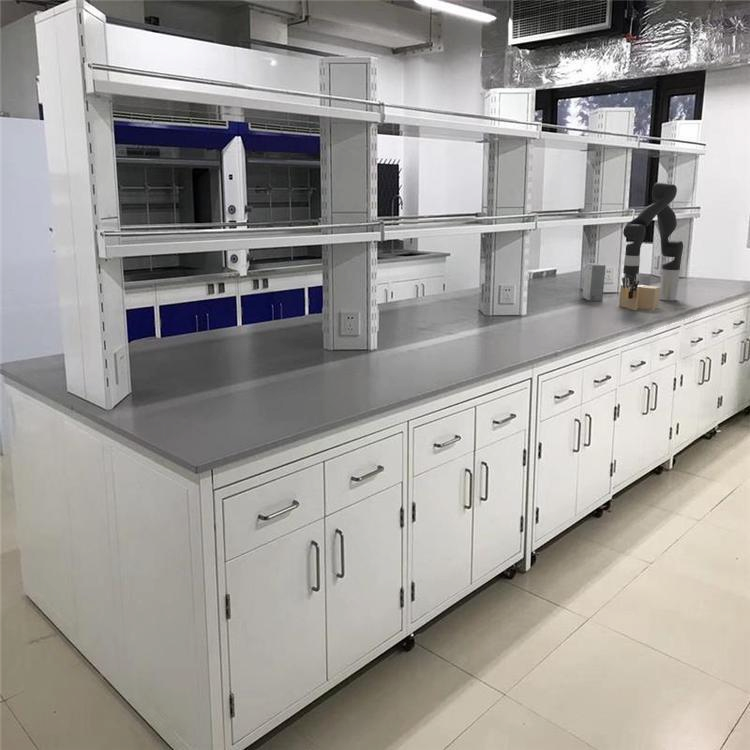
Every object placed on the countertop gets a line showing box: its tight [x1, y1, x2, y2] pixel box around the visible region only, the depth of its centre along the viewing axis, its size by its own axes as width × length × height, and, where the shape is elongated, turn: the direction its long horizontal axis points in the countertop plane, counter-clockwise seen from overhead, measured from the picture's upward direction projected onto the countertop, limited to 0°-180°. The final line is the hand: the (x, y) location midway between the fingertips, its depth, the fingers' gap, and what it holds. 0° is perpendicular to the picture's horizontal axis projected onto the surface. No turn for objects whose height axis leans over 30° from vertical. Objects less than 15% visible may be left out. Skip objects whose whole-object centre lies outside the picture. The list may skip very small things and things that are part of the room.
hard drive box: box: [582, 262, 607, 302], centre depth 405 cm, size 16×8×20 cm, turn 179°
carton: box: [634, 284, 661, 311], centre depth 380 cm, size 9×18×11 cm, turn 52°
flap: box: [618, 284, 639, 311], centre depth 373 cm, size 5×16×11 cm, turn 12°
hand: (628, 297), depth 368 cm, fingers closed on flap, 2 cm apart
